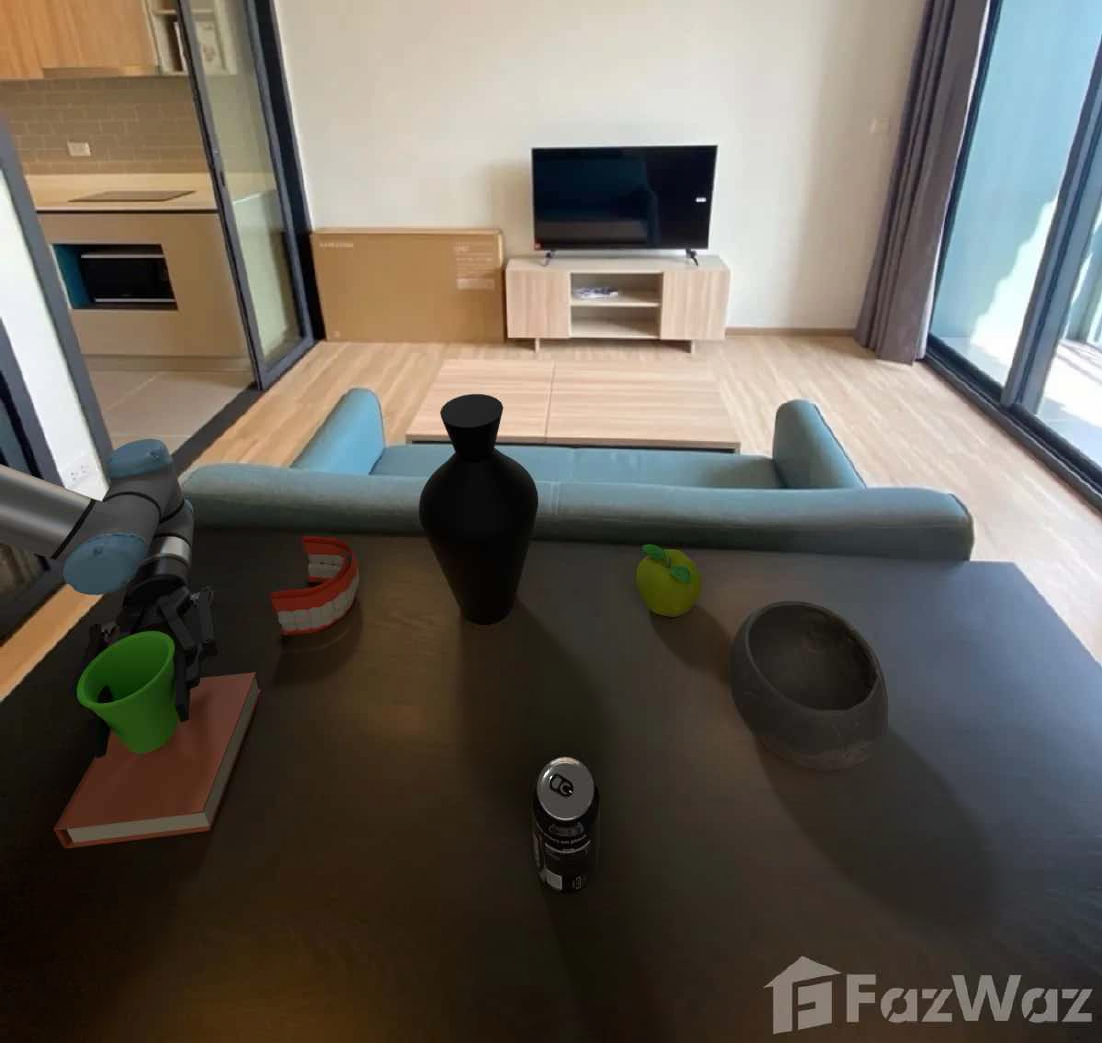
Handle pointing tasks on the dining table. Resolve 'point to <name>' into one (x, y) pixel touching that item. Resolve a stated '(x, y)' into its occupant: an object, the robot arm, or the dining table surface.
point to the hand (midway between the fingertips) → (141, 730)
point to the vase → (479, 511)
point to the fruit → (668, 581)
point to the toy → (319, 588)
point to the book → (165, 773)
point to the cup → (135, 689)
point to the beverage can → (566, 825)
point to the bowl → (808, 685)
